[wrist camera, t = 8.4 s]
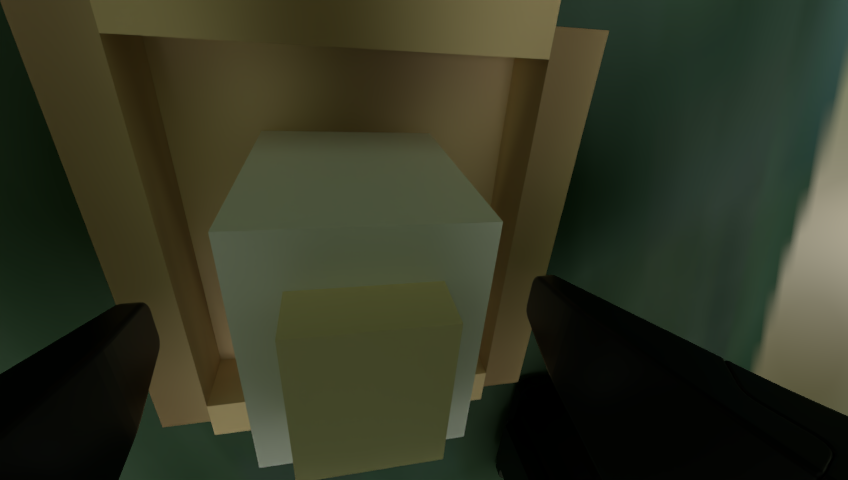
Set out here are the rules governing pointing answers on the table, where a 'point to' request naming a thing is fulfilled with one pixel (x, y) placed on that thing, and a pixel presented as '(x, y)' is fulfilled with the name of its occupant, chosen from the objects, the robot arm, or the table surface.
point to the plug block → (354, 297)
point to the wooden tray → (296, 111)
